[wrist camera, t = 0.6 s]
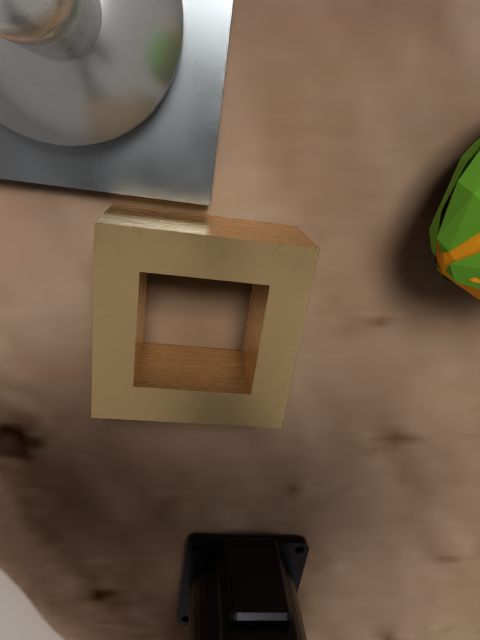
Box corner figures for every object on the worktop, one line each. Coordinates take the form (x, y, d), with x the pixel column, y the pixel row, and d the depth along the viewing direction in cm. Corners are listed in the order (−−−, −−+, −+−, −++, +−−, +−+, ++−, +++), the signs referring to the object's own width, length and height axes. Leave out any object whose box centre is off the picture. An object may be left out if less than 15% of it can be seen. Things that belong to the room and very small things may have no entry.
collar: (267, 380, 20) (281, 428, 17) (108, 369, 19) (90, 417, 16) (296, 226, 18) (319, 248, 14) (113, 203, 17) (94, 222, 13)
